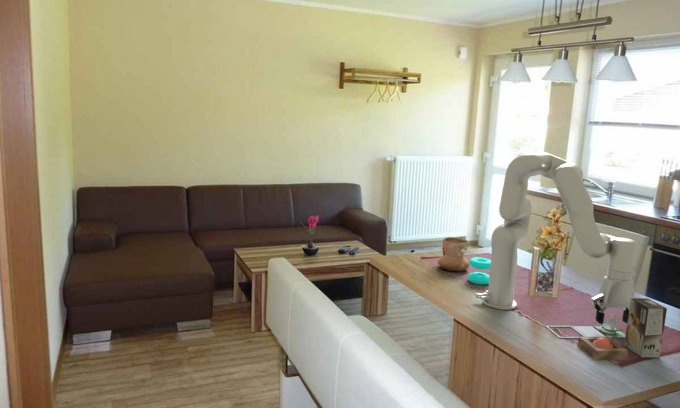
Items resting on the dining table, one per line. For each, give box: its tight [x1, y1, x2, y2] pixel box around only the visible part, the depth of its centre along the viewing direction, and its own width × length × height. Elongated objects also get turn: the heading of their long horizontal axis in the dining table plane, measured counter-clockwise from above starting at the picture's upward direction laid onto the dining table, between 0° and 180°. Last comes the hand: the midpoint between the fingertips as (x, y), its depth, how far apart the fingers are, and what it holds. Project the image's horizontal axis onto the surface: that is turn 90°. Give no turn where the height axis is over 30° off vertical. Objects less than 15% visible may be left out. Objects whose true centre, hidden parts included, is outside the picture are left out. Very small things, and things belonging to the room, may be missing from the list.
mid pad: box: [572, 325, 607, 337], centre depth 176 cm, size 7×9×1 cm
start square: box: [545, 325, 586, 340], centre depth 175 cm, size 10×10×1 cm
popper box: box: [577, 336, 629, 361], centre depth 161 cm, size 10×10×3 cm
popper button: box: [593, 337, 613, 348], centre depth 161 cm, size 6×6×4 cm
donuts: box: [467, 256, 491, 286], centre depth 225 cm, size 10×10×10 cm
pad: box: [593, 325, 626, 339], centre depth 177 cm, size 7×9×1 cm
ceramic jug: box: [437, 236, 471, 272], centre depth 243 cm, size 18×14×14 cm
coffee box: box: [623, 297, 668, 358], centre depth 162 cm, size 9×6×16 cm
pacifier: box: [599, 314, 623, 334], centre depth 177 cm, size 7×6×6 cm
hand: (612, 322), depth 177 cm, fingers open, 9 cm apart
